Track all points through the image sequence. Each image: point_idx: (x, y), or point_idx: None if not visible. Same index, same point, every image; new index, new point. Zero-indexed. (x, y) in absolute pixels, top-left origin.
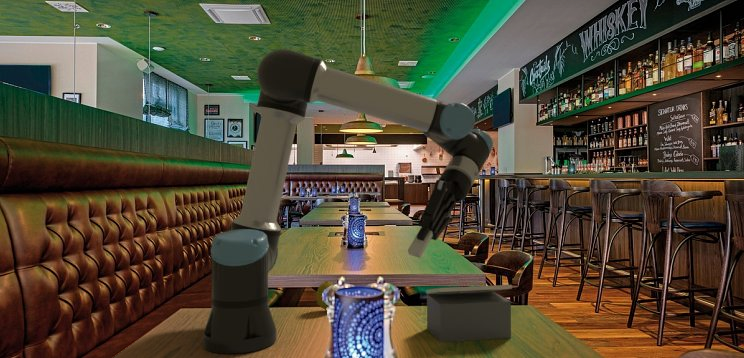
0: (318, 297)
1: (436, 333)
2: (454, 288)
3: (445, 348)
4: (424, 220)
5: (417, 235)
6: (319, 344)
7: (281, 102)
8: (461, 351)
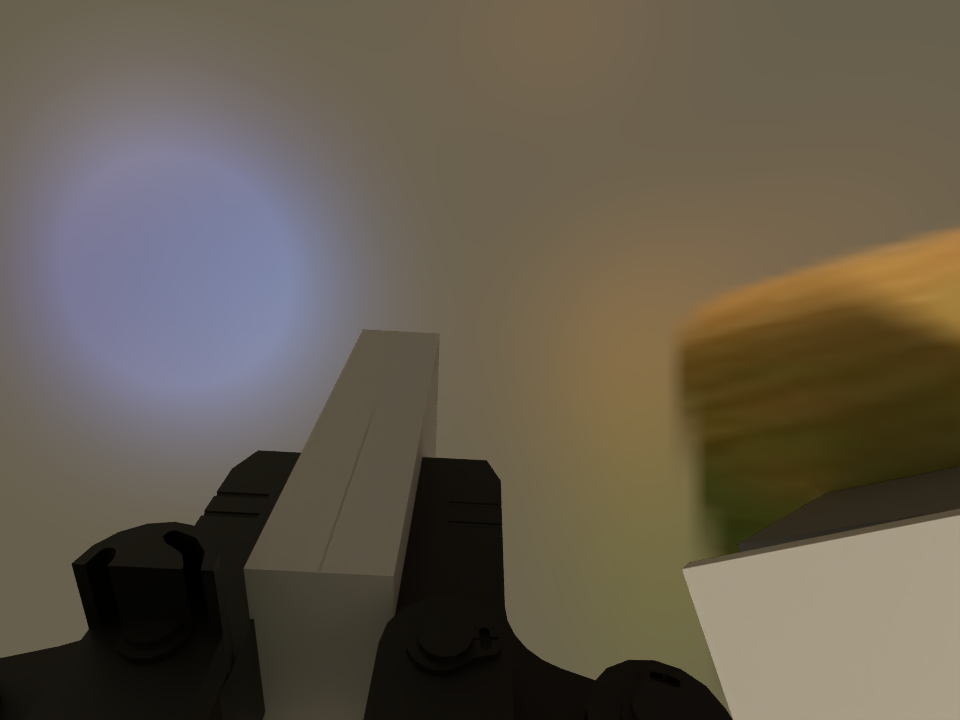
0: None
1: (898, 482)
2: (729, 700)
3: (737, 506)
4: (8, 676)
5: (249, 462)
6: None
7: None
8: None
